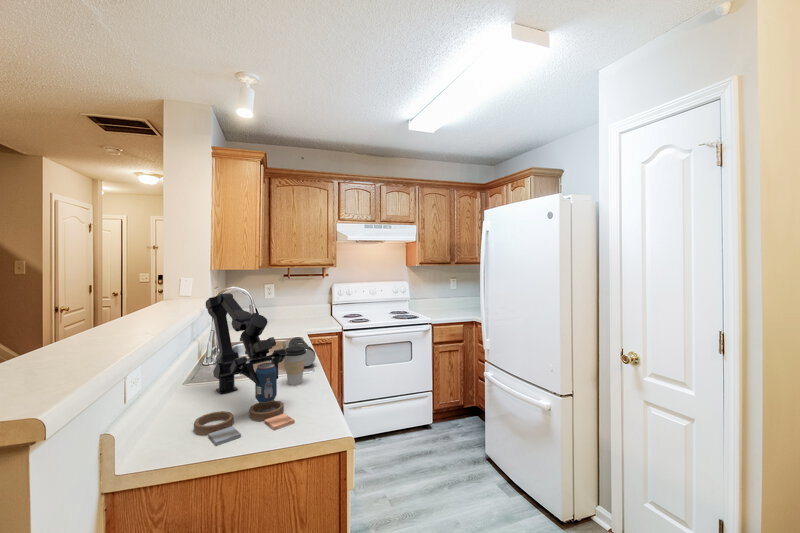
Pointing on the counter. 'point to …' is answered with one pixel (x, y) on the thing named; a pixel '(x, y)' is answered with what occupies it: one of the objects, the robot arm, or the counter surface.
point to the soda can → (266, 382)
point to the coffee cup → (294, 364)
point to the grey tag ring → (217, 427)
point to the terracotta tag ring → (270, 414)
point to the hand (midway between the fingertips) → (268, 381)
